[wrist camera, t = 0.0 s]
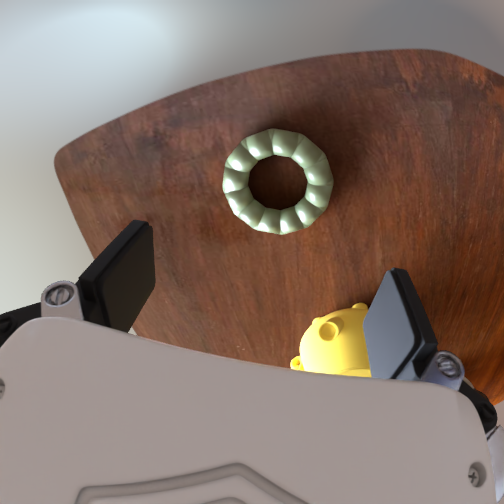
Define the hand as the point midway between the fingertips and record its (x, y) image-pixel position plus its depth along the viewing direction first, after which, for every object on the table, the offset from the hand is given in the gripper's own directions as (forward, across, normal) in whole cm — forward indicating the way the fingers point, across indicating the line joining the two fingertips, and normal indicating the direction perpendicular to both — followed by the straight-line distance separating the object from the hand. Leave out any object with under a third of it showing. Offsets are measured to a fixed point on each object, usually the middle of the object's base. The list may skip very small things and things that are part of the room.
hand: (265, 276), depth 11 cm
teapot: (+20, -13, +19) cm, 30 cm away
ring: (+18, 0, +2) cm, 18 cm away
